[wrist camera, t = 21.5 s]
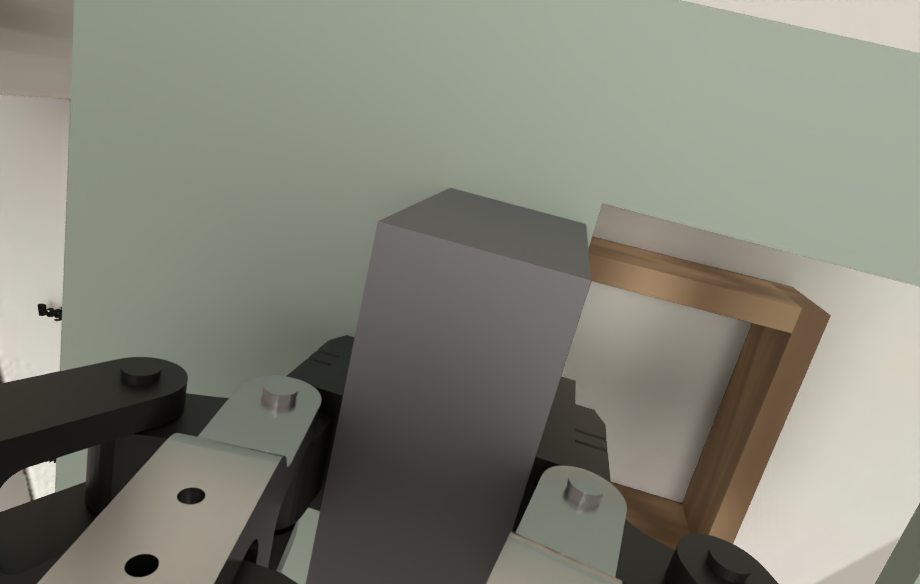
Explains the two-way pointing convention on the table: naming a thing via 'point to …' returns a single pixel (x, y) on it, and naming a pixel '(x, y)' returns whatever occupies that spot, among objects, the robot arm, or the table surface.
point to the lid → (445, 216)
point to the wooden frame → (747, 396)
